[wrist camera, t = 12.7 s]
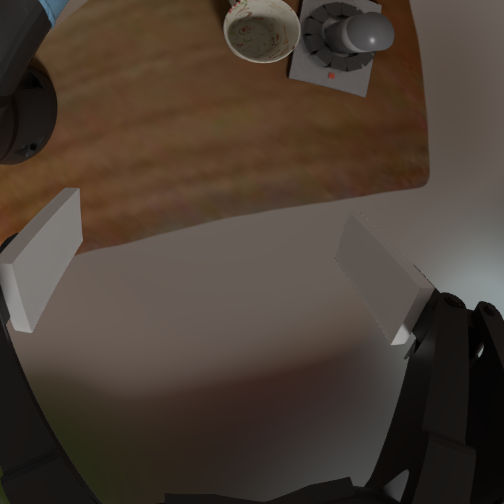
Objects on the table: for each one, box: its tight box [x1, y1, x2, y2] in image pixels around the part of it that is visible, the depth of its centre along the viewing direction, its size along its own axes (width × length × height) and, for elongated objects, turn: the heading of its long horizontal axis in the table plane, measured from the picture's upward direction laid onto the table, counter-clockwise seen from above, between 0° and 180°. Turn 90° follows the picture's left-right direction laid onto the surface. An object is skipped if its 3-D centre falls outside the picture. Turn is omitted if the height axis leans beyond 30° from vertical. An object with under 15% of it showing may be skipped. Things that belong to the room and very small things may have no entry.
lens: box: [325, 12, 394, 54], centre depth 32 cm, size 5×5×10 cm
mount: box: [287, 0, 381, 97], centre depth 36 cm, size 12×16×3 cm
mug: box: [223, 0, 300, 63], centre depth 31 cm, size 8×13×10 cm, turn 30°
